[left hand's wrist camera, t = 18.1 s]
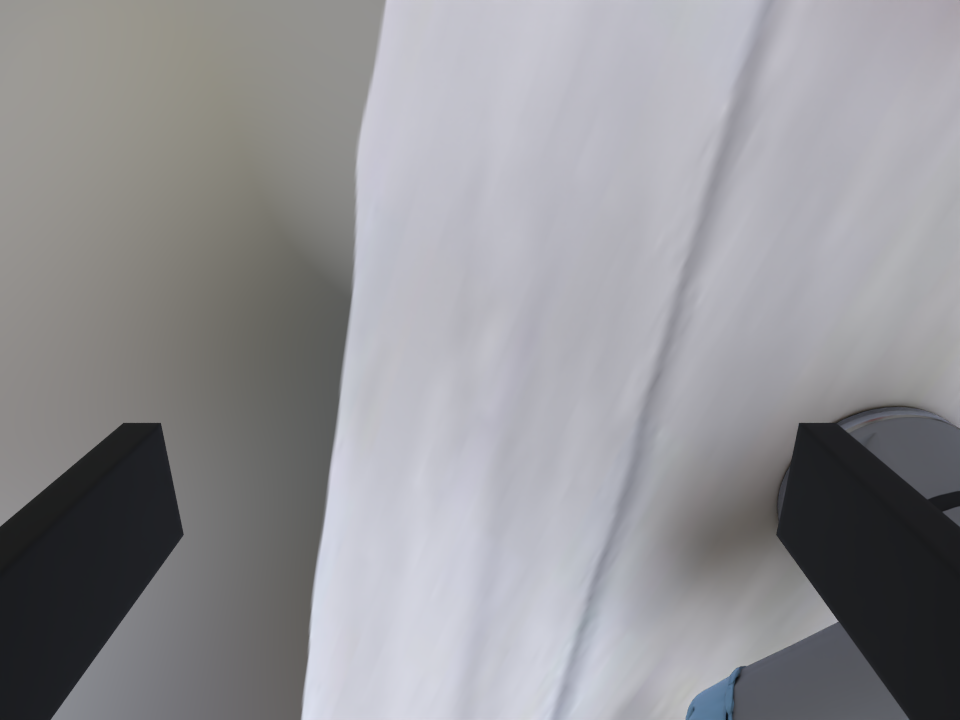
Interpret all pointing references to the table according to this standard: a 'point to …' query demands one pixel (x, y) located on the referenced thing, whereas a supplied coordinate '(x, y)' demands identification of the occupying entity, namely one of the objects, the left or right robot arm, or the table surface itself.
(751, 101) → the table surface
